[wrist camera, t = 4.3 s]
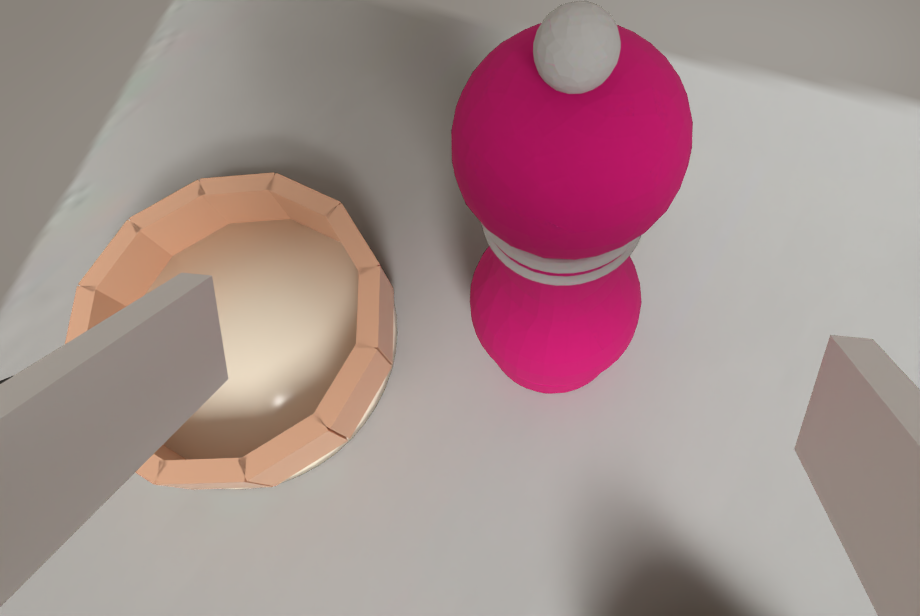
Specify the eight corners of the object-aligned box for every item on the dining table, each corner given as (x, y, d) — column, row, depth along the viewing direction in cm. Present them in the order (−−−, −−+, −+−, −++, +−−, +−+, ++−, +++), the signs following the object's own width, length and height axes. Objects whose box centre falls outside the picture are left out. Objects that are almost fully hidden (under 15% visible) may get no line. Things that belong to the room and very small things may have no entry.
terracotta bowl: (451, 382, 30) (440, 361, 26) (180, 552, 29) (127, 555, 25) (318, 168, 35) (293, 125, 32) (83, 303, 34) (28, 275, 30)
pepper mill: (656, 334, 30) (864, 3, 11) (549, 436, 29) (581, 256, 10) (551, 239, 32) (577, -165, 14) (449, 330, 31) (323, 25, 12)
